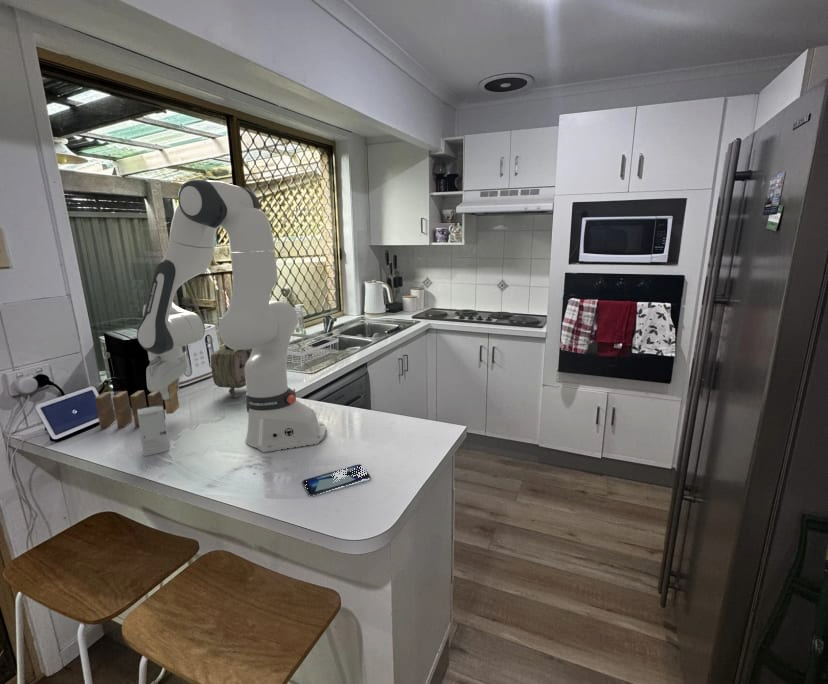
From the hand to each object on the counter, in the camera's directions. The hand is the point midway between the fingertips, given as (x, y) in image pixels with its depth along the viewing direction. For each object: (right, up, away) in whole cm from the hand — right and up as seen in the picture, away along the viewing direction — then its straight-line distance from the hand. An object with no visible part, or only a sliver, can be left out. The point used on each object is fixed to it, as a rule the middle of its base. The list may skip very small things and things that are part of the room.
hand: (171, 395), depth 135 cm
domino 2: (-15, -9, 0) cm, 17 cm away
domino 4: (-5, -9, +1) cm, 10 cm away
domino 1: (-20, -9, 0) cm, 22 cm away
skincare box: (+6, -13, -17) cm, 22 cm away
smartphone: (+58, -17, -33) cm, 68 cm away
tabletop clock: (+9, -3, +27) cm, 28 cm away
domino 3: (-10, -9, +1) cm, 13 cm away
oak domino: (0, -5, +1) cm, 5 cm away
